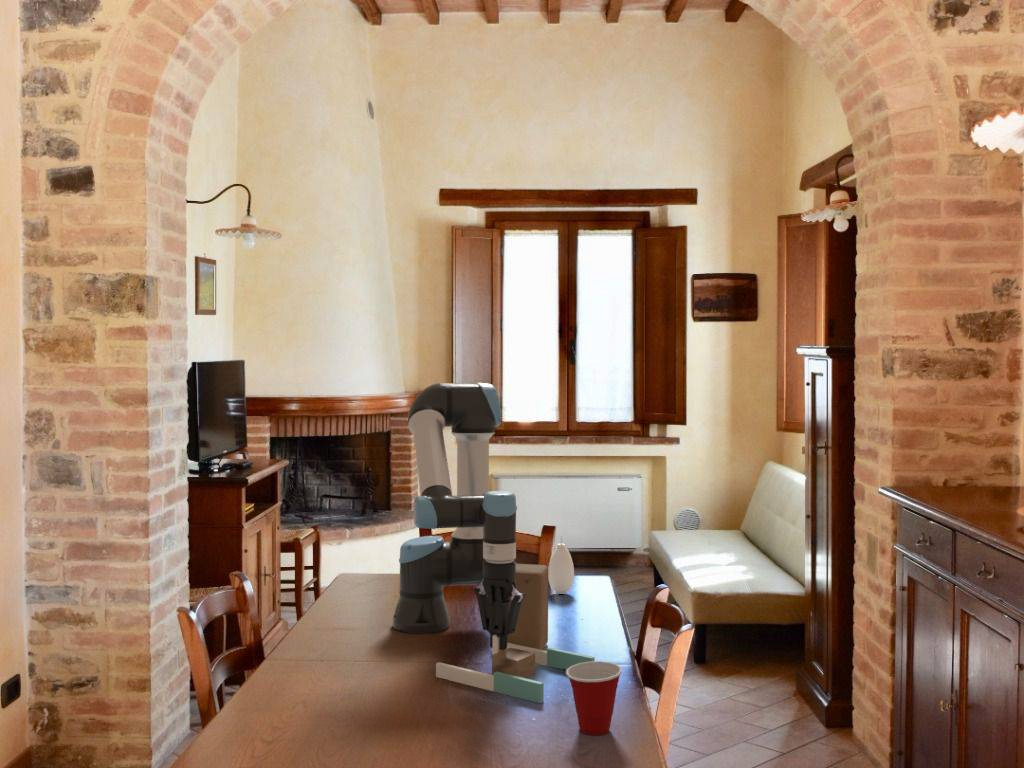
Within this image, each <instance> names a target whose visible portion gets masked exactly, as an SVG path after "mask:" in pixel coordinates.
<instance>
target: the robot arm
mask: <svg viewBox="0 0 1024 768" xmlns="http://www.w3.org/2000/svg"><path fill="white" fill-rule="evenodd" d="M501 422H502V409H501V401H500V398H499V394H498V390H497V389H496V387H495V386H494V385H493V384H491V383H486V382H485V383H483V382H451V383H450V382H448V383H447V382H446V383H445V382H439V383H434V384H431V385H429V386H426V387H425V388H424V389H422V390H421V391H420V392H419V393H417V395H416V396H415V397H414V400H413V401H412V402H411V405H410V407H409V410H408V413H407V423H408V426H407V427H408V429H409V431H410V433H411V434H413V442H414V443H413V444H414V450H415V459H416V467H417V477H418V484H419V485H418V486H419V493H420V496H416V497H415V498H414V500H413V521H414V525H415V527H416V528H417V529H431V530H435V529H449V528H450V529H452V528H453V529H454V528H455V530H454V531H453V532H452V533H451V535H450V538H451V539H450V541H445V540H444V538H443V536H440V535H424V536H419V537H414V538H410V539H408V540H406V541H404V542H403V543H402V544H401V546H400V547H399V550H400V551H399V558H398V563H399V596H398V597H399V598H398V600H397V601H398V602H397V603H396V606H395V607H396V608H395V610H394V614H393V616H392V628H393V629H394V630H396V631H400V632H401V633H402V632H403V633H409V634H431V633H437V632H441V630H442V631H444V630H447V629H448V628H449V627H450V625H451V620H450V619H451V618H450V614H449V613H448V609H447V605H446V602H445V601H446V600H445V599H444V587H449V586H450V587H453V586H474V585H475V586H476V587H474V588H473V592H474V594H475V596H476V599H477V605H478V610H479V615H480V621H481V627H482V630H483V631H486V632H488V634H489V641H490V642H489V646H490V649H491V654H492V655H493V654H496V653H498V652H501V651H503V650H505V649H507V635H509V634H511V633H514V632H515V629H516V624H517V619H518V615H519V610H520V605H521V602H522V601H523V599H524V597H525V594H524V593H519V592H518V591H517V590H516V585H515V582H514V579H515V575H516V564H517V562H516V561H515V560H516V558H517V542H516V541H517V539H516V537H517V533H516V532H517V510H518V506H517V496H516V494H515V493H514V492H511V491H506V490H495V491H494V490H493V491H490V439H491V438H492V437H493V435H495V433H496V432H495V428H497V427H499V426H500V425H501V424H502V423H501ZM445 427H449V428H450V427H451V435H452V436H453V437H454V438H456V441H457V442H456V444H457V445H456V446H457V447H456V449H457V450H456V453H457V454H456V464H457V465H456V467H457V468H456V483H457V484H456V495H453V491H452V484H451V483H452V482H451V478H450V470H449V465H448V464H449V463H448V457H447V456H448V455H447V451H446V445H445V439H444V437H445V436H444V432H443V431H444V429H445ZM511 596H512V597H511ZM510 597H511V599H512V601H511V604H510ZM509 604H510V609H509ZM492 655H491V656H492Z"/></svg>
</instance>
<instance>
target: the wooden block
mask: <svg viewBox="0 0 1024 768" xmlns="http://www.w3.org/2000/svg"><path fill="white" fill-rule="evenodd" d="M548 568H549V566H547V565H545V564H533V563H532V564H531V563H527V564H526V563H516V575H515V579H514V582H515V585H516V590H517V591H518V592H519V593H524V594H525V597H524V599H523V601H522V602H521V605H520V610H519V615H518V619H517V624H516V629H515V632H514V633H511V634H509V635H507V643H512V644H516V645H521V646H526V647H530V648H535V649H539V650H544V648H545V647H546V646H547V643H548V642H549V579H548V570H549V569H548ZM511 597H512V596H511ZM511 597H510V604H511V601H512V599H511ZM510 604H509V609H510Z"/></svg>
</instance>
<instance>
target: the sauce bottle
mask: <svg viewBox="0 0 1024 768" xmlns="http://www.w3.org/2000/svg"><path fill="white" fill-rule="evenodd" d="M571 555H572V554H571V553H570V552H569V549H568V548H567V545H566V544H565V543H563V536H562V535H561V536H560V543H557V544H556V548H555V549H554V550H553V552H552V555H551V557H550V560H549V563H548V569H549V570H548V584H549V586H550V588H551V590H552V591H553V592H554V593H555V594H557V595H558V594H564V595H565V594H568V592H569V591H570V590H571V589H572V587H573V584H574V580H575V569H574V568H575V567H574V563H573V558H572V556H571Z"/></svg>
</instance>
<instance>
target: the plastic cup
mask: <svg viewBox="0 0 1024 768" xmlns="http://www.w3.org/2000/svg"><path fill="white" fill-rule="evenodd" d="M622 669H623V668H622V667H621V666H620V665H618V664H617V663H613V662H609V661H602V660H599V661H598V660H595V661H593V662H584V663H579V664H576V665H573V666H571V667H569V668H568V669H567V670H565V675H566V676H567V677H568V679H569V682H570V685H571V689H572V695H573V700H574V707H575V712H576V715H577V723H578V727H579V730H580V732H581V733H584V734H585V735H589V736H602V735H606V734H608V733H609V732H610V729H611V725H612V724H611V722H612V717H613V715H614V710H615V709H614V708H615V702H616V696H617V690H618V685H619V681H620V676H621V675H622ZM608 731H609V732H608ZM607 732H608V733H607ZM605 733H606V734H605Z"/></svg>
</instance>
